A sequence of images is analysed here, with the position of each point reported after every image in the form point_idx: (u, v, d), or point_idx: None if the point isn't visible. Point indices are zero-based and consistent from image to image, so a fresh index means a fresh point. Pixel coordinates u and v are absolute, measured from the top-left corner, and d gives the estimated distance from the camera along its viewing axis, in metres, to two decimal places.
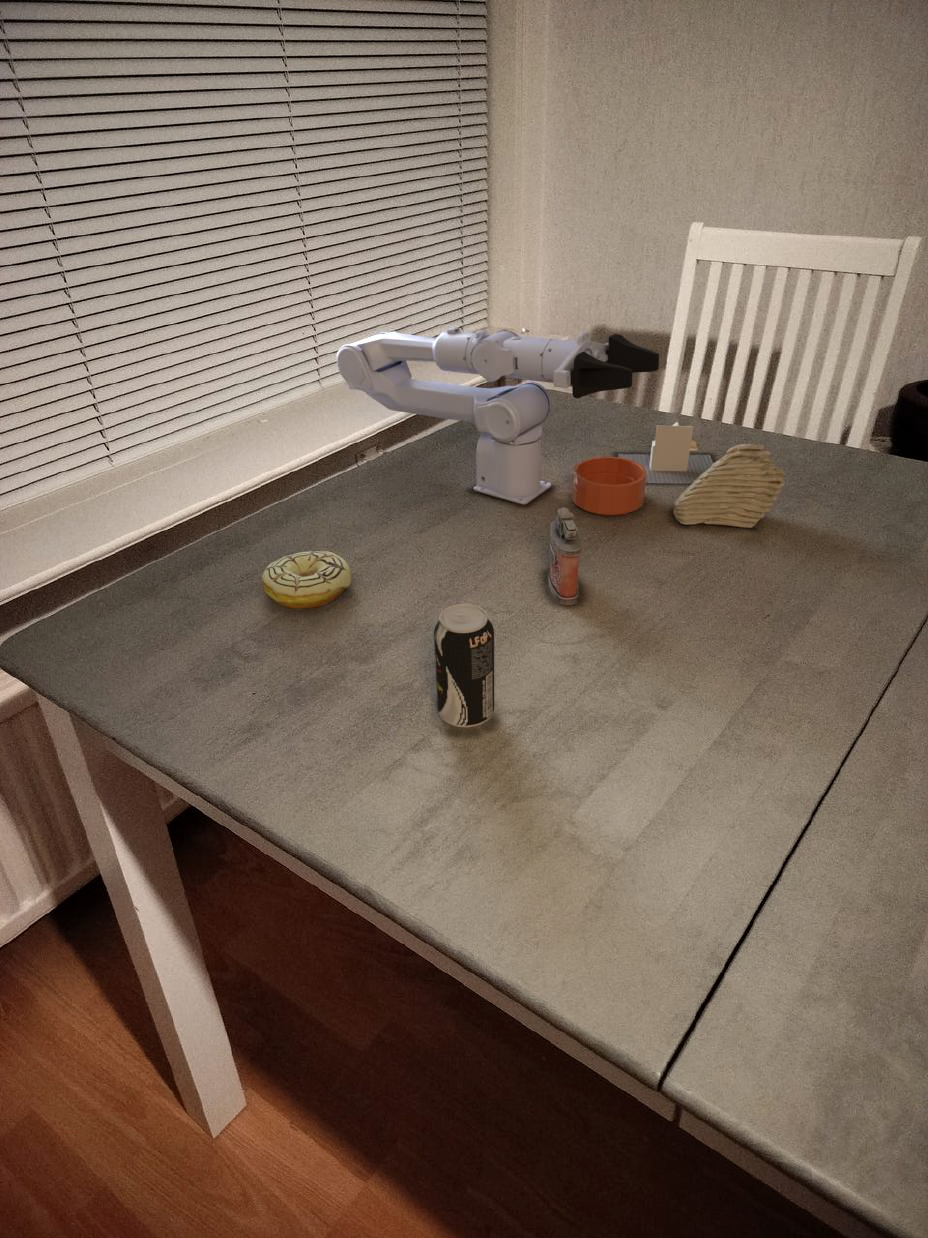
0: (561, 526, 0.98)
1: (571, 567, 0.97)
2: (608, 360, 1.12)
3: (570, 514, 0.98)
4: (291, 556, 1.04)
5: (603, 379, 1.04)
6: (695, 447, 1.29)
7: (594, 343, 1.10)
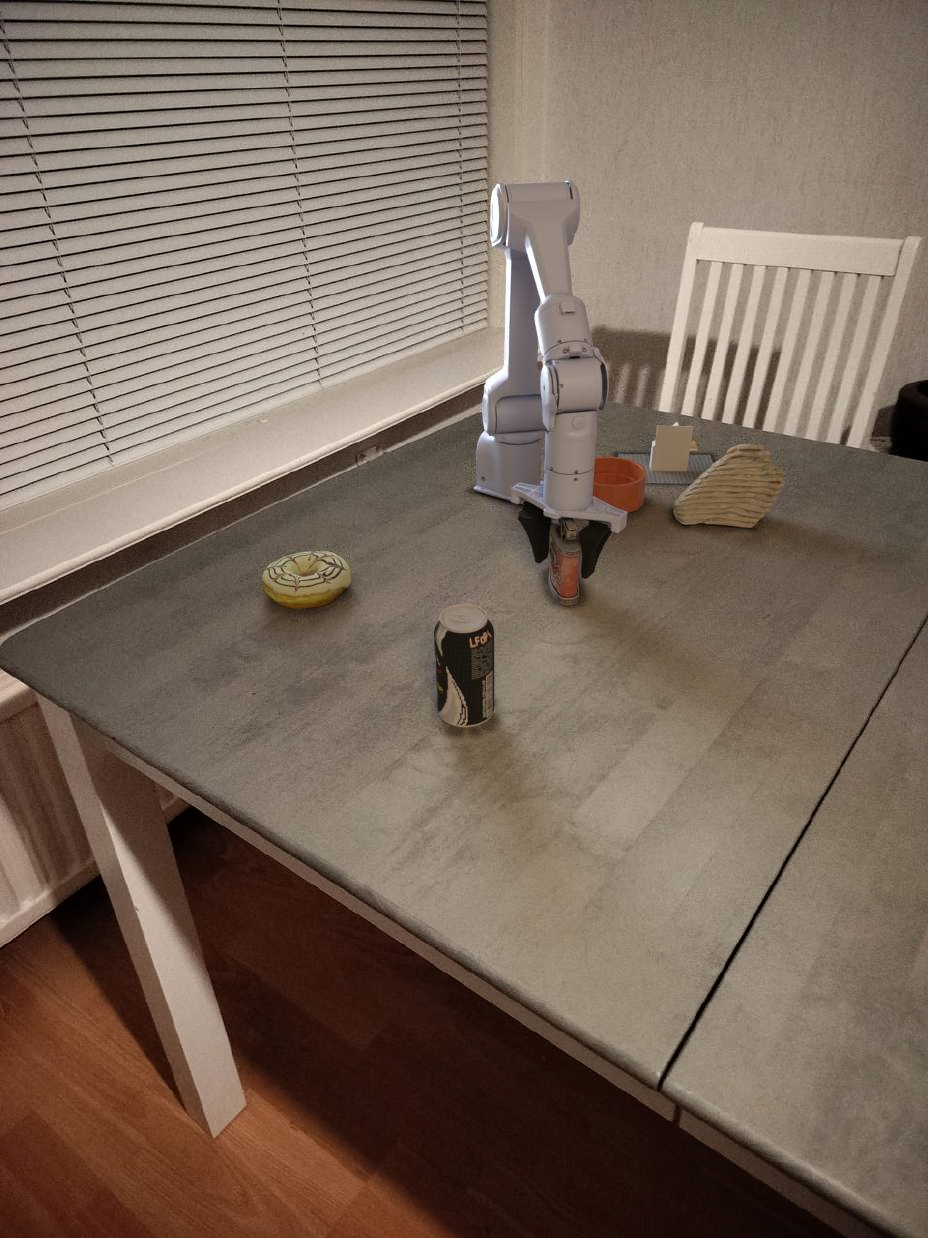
0: (561, 526, 0.98)
1: (571, 567, 0.97)
2: None
3: None
4: (291, 556, 1.04)
5: None
6: (695, 447, 1.29)
7: None
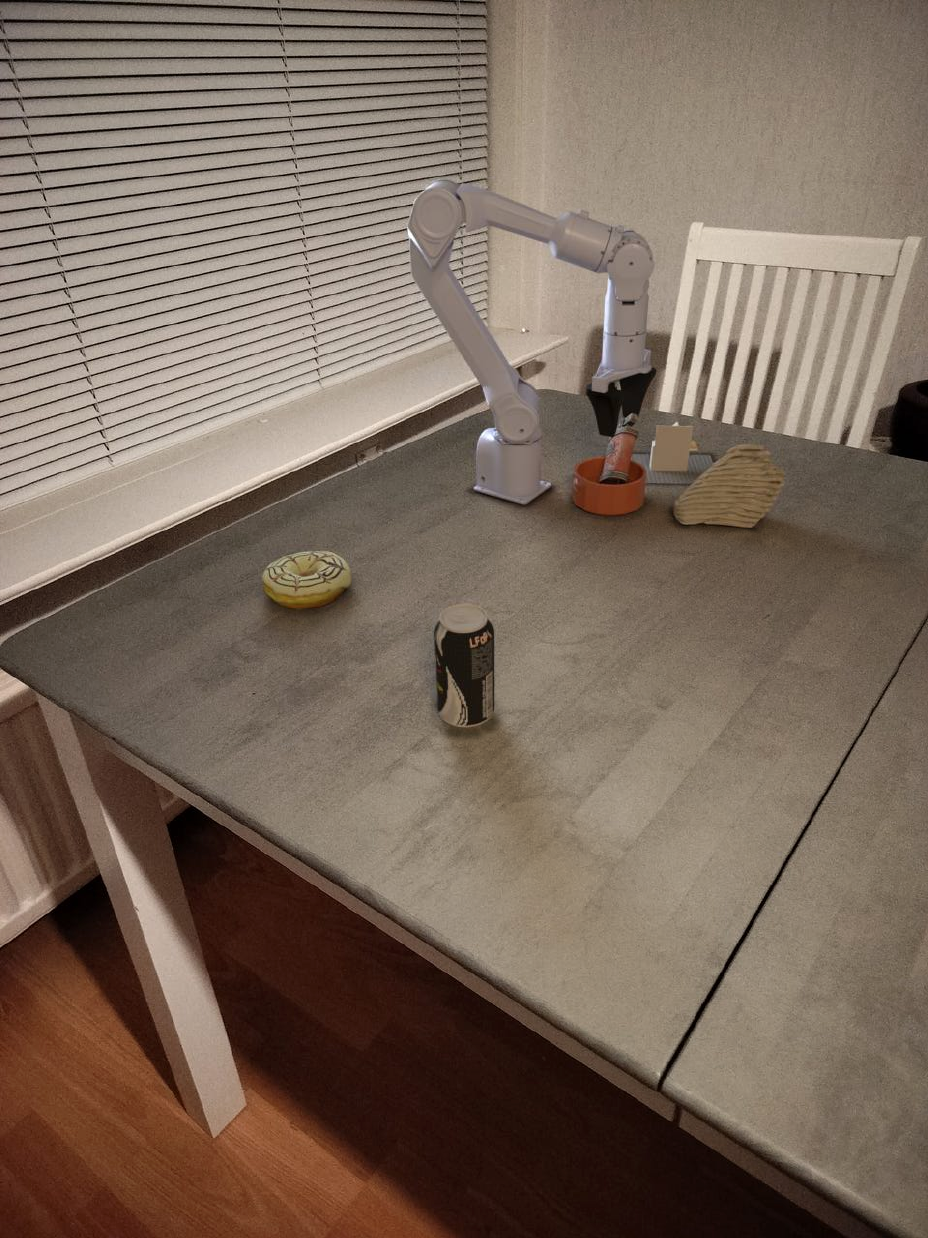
0: (622, 423, 1.21)
1: (628, 444, 1.18)
2: None
3: None
4: (291, 556, 1.04)
5: (604, 411, 1.15)
6: (695, 447, 1.29)
7: None
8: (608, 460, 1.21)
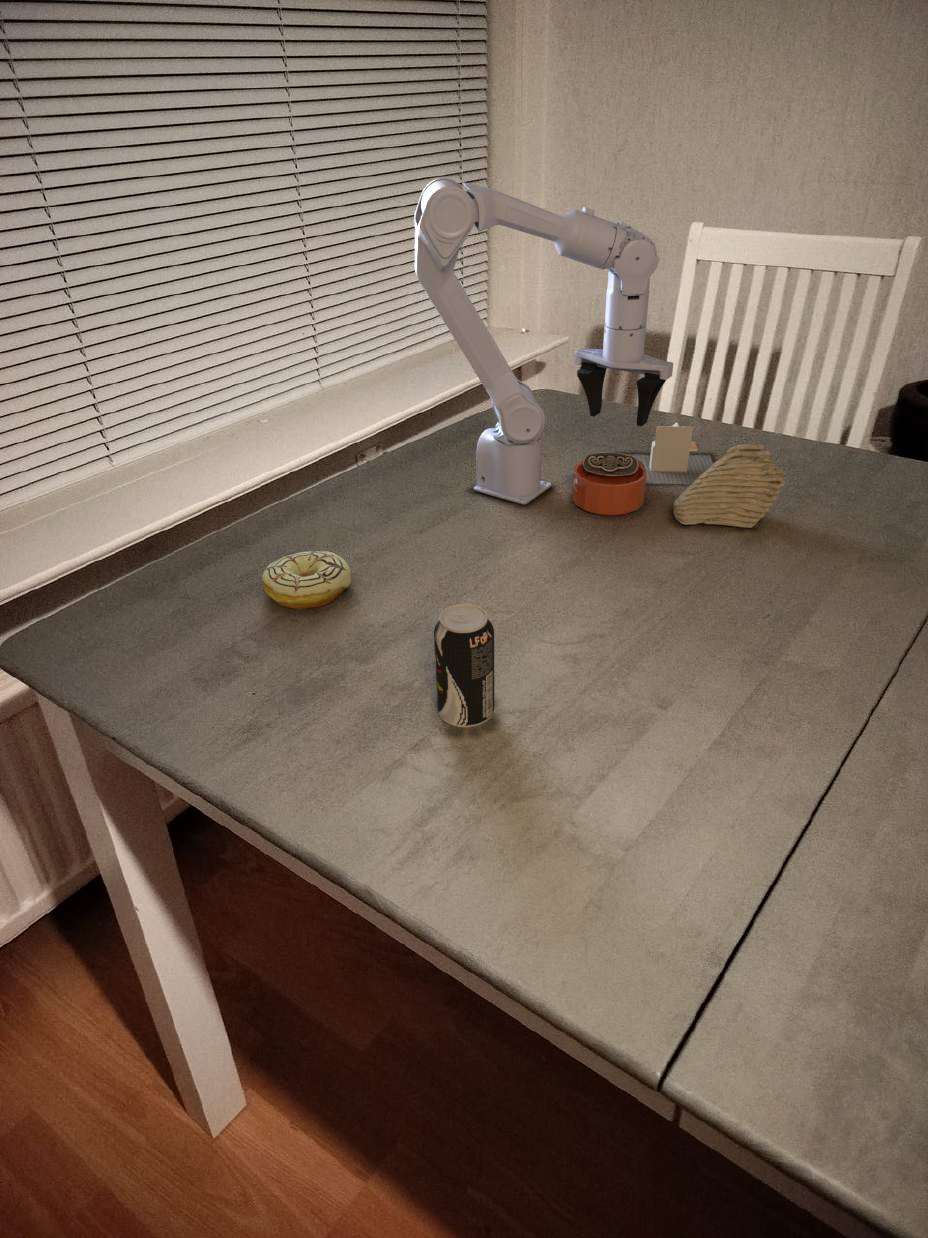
0: None
1: None
2: (596, 367, 1.20)
3: None
4: (291, 556, 1.04)
5: None
6: (695, 447, 1.29)
7: None
8: None
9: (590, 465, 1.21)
